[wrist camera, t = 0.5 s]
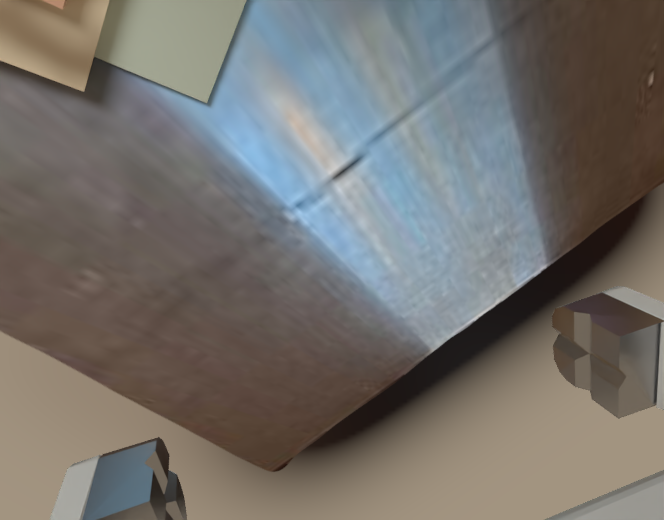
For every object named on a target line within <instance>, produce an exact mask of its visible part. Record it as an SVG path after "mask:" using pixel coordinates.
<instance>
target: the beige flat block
mask: <svg viewBox="0 0 664 520" xmlns="http://www.w3.org/2000/svg"><path fill="white" fill-rule="evenodd" d="M109 1H110V0H67V2H66V6H65V7H64V8H63V9H60V8H58V7H56V6H54V5H51V4H49V3H47V2H45V1H42V0H0V61H3V62H6V63H8V64H11V65H14V66H16V67H19V68H22V69H24V70H27V71H30V72H32V73H35V74H38V75H40V76H43V77H46V78H48V79H51V80H54V81H56V82H59V83H62V84H64V85H67V86H70V87H72V88H75V89H77V90H80V91H83V92H84V90H85V87H86V84H87V80H88V77H89V73H90V69H91V66H92V62H93V59H94V55H95V51H96V48H97V44H98V41H99V37H100V33H101V30H102V26H103V23H104V19H105V15H106V12H107V8H108V5H109Z"/></svg>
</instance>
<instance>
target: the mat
mask: <svg viewBox="0 0 664 520" xmlns="http://www.w3.org/2000/svg"><path fill="white" fill-rule="evenodd" d="M245 3H246V0H110V1H109V5H108V8H107V12H106V15H105V19H104V23H103V26H102V30H101V33H100V37H99V41H98V44H97V48H96V51H95V55H94V57H96V58H98V59H101V60H103V61H106V62H108V63H110V64H113V65H115V66H118V67H120V68H123V69H125V70H127V71H130V72H132V73H135V74H137V75H140V76H142V77H144V78H147V79H149V80H152V81H154V82H157V83H159V84H161V85H164V86H166V87H169V88H171V89H174V90H176V91H178V92H181V93H183V94H186V95H188V96H191V97H193V98H195V99H198V100H200V101H203V102H205V103H207V102H208V99H209V96H210V94H211V91H212V89H213V86H214V83H215V81H216V78H217V76H218V73H219V70H220V68H221V65H222V63H223V60H224V57H225V55H226V52H227V50H228V47H229V44H230V42H231V39H232V37H233V34H234V31H235V29H236V26H237V24H238V21H239V19H240V16H241V13H242V11H243V8H244V6H245Z"/></svg>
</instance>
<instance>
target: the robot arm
mask: <svg viewBox="0 0 664 520" xmlns="http://www.w3.org/2000/svg"><path fill="white" fill-rule="evenodd" d="M552 327H553V328H554V329H555V330H556V331H557V332H558V333H559V335H558V337H557V339H556V341H555V343H554V345H553V350H554V360H555V362H556V364H557V367H558V369H559V371H560V373H561V374H562V375H563V376H564V378H565V379H566V380H567V381H568V382H570V383H571V384H572V385H574V386H575V387H578V388H582V389H586V390H590V392H591V397H592V399H593V400H594V401H595V402H597V403H598V404H600V405H601V406H602V407H604V408H605V409H606V410H608V411H609V412H610V413H612V414H613V415H614V416H616V417H617V418H621V417H624V416H627V415H630V414H633V413H635V412H638V411H641V410H644V409H647V408H650V407H652V406H655V405H657V406H656V407H657V408H660V409H663V410H664V303H663V302H660V301H658V300H656V299H653V298H651V297H649V296H646V295H644V294H641V293H639V292H636V291H634V290H632V289H630V288H627V287H620V286H616V287H613V288H611V289H608V290H605V291H603V292H600V293H597V294H596V295H593V296H590V297H587V298H584V299H581V300H579V301H575V302H573V303H570V304H567V305H564V306H561V307H558V308H555V310H554V313H553V315H552ZM168 469H169V453H168V451H167V449H166V446H165V444H164V442H163V440H162V439H160V438H159V437H158V438H155V439H152V440H148V441H145V442H142V443H139V444H135V445H132V446H129V447H125V448H122V449H119V450H116V451H112V452H109V453H106V454H103V455H102V456H100V455H99V456H96V457H93V458H90V459H87V460H84V461H81V462H78V463H75V464H73V465H71V466H70V467H69V468H68V469H67V471H66V474H65V477H64V480H63V483H62V485H61V488H60V491H59V494H58V497H57V500H56V503H55V506H54V508H53V511H52V514H51V517H50V520H187V515H186V507H185V500H184V495H183V491H182V488H181V484H180V482H179V479H178V476H177V475H176V474H175V473H173V472H171V471H169V470H168ZM545 520H664V470H663V471H660V472H658V473H655V474H653V475H650V476H648V477H646V478H643V479H641V480H638V481H636V482H634V483H631V484H629V485H626V486H624V487H622V488H619V489H617V490H615V491H612V492H609V493H607V494H605V495H602V496H600V497H597V498H595V499H593V500H590V501H588V502H585V503H583V504H581V505H578V506H576V507H574V508H571V509H569V510H566V511H564V512H562V513H559V514H557V515H554V516H552V517H550V518H547V519H545Z"/></svg>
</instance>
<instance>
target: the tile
mask: <svg viewBox="0 0 664 520" xmlns="http://www.w3.org/2000/svg"><path fill="white" fill-rule="evenodd" d="M42 1H45V2H47V3H49V4H51V5H54V6H56V7H58V8H60V9H63V8H64V7H65V6H66V2H67V0H42Z"/></svg>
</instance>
